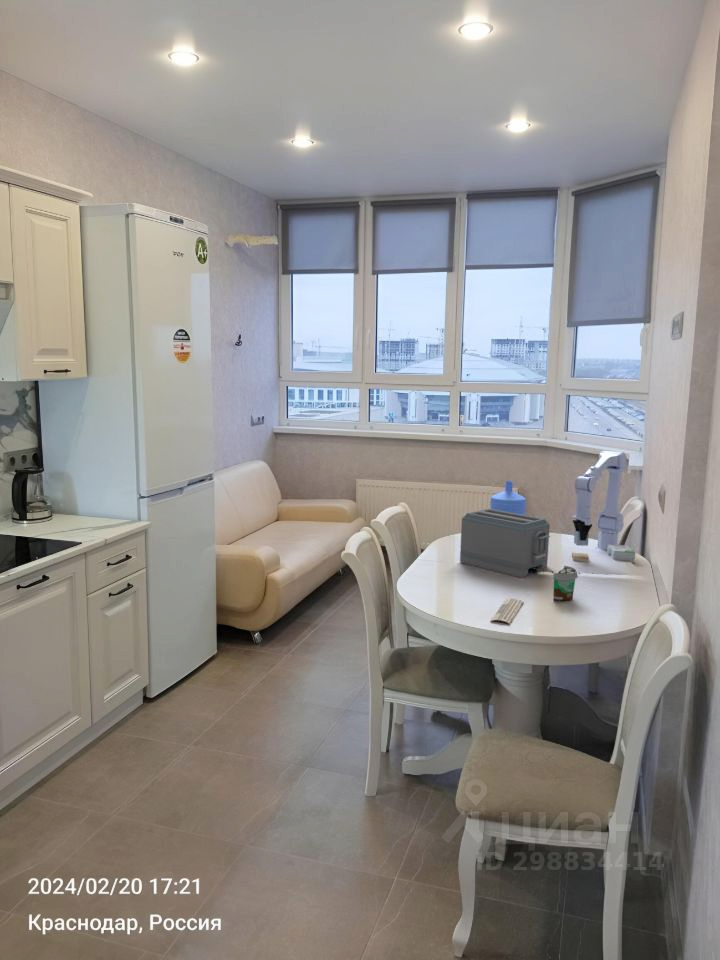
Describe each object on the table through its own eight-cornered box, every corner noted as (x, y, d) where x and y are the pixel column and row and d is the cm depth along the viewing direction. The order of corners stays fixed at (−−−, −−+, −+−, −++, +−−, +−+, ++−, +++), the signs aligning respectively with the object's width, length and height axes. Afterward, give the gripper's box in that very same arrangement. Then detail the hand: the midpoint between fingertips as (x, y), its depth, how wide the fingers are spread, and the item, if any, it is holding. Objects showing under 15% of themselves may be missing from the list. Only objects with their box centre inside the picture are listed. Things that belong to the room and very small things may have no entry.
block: (573, 542, 298) (574, 531, 297) (584, 543, 298) (585, 531, 297) (577, 545, 294) (577, 533, 293) (588, 545, 294) (588, 533, 293)
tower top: (571, 556, 300) (572, 552, 300) (586, 557, 299) (587, 553, 299) (572, 560, 294) (573, 555, 294) (588, 561, 293) (588, 556, 293)
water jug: (527, 547, 320) (530, 484, 316) (491, 546, 320) (494, 484, 316) (519, 539, 335) (523, 479, 331) (485, 538, 335) (488, 478, 331)
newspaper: (509, 627, 222) (510, 621, 222) (486, 623, 225) (487, 618, 224) (523, 605, 243) (523, 599, 243) (502, 601, 246) (502, 596, 246)
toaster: (530, 581, 269) (533, 527, 266) (458, 562, 293) (460, 513, 290) (556, 571, 282) (559, 520, 279) (485, 555, 306) (487, 507, 303)
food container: (570, 605, 242) (572, 576, 240) (552, 602, 245) (553, 573, 243) (580, 596, 252) (582, 568, 251) (562, 592, 255) (564, 565, 254)
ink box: (614, 550, 297) (607, 543, 309) (612, 562, 298) (606, 554, 309) (635, 551, 296) (628, 544, 308) (634, 564, 297) (627, 556, 309)
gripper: (568, 502, 301) (566, 534, 303) (578, 509, 286) (576, 542, 288) (585, 502, 301) (583, 535, 303) (596, 509, 286) (594, 543, 288)
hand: (581, 538), depth 295 cm, fingers closed on block, 4 cm apart
